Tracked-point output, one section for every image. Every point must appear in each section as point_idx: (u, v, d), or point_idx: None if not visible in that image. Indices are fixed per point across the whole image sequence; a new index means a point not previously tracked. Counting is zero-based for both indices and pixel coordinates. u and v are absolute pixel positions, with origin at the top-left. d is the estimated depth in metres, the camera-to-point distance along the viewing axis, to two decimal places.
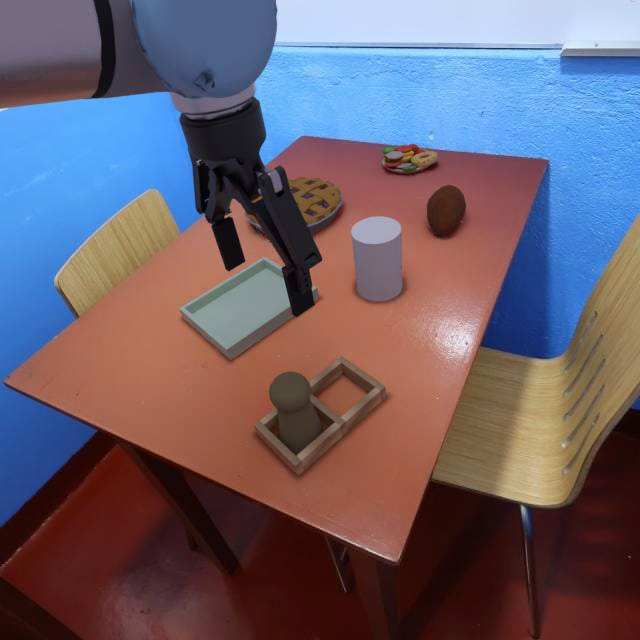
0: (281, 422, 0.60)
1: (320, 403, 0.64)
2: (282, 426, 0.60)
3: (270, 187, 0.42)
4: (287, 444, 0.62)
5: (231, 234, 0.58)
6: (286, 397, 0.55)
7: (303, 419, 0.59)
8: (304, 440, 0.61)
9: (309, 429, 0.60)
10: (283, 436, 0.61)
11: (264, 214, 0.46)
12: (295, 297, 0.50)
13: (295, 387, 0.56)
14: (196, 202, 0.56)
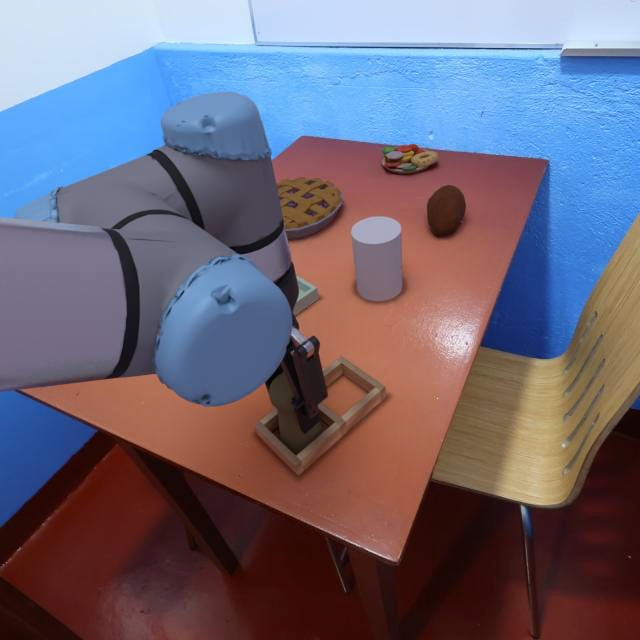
0: (281, 422, 0.60)
1: (320, 403, 0.64)
2: (282, 426, 0.60)
3: (304, 358, 0.46)
4: (287, 444, 0.62)
5: None
6: (286, 397, 0.55)
7: None
8: (304, 440, 0.61)
9: None
10: (283, 436, 0.61)
11: (288, 362, 0.50)
12: (303, 419, 0.57)
13: None
14: None
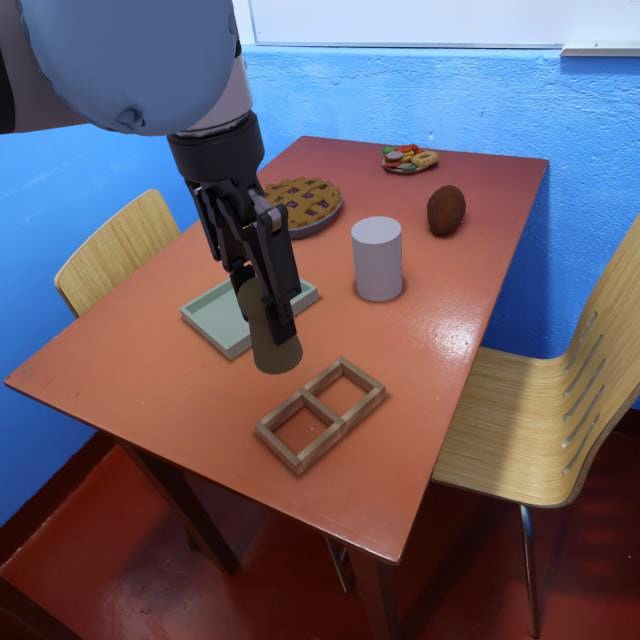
0: (252, 335, 0.52)
1: (320, 403, 0.64)
2: (254, 341, 0.53)
3: (269, 228, 0.38)
4: (260, 364, 0.54)
5: None
6: (256, 299, 0.48)
7: None
8: (279, 358, 0.53)
9: (284, 344, 0.53)
10: (256, 354, 0.54)
11: (254, 245, 0.43)
12: (276, 327, 0.49)
13: None
14: (211, 247, 0.50)
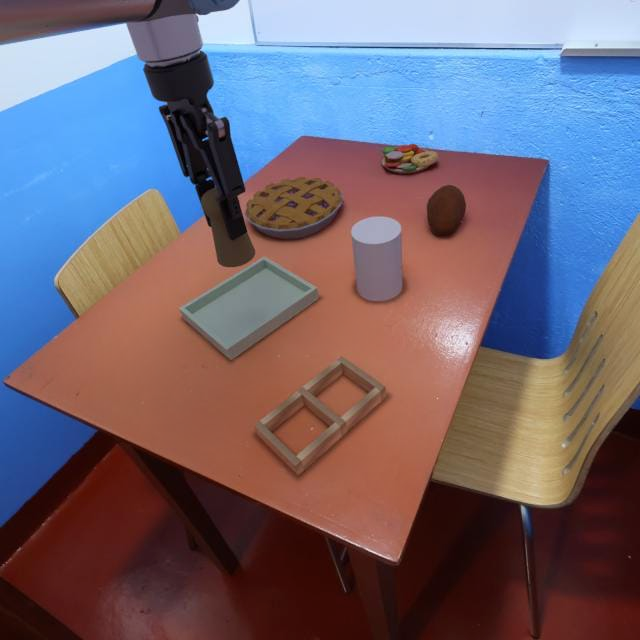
0: (214, 234, 0.69)
1: (320, 403, 0.64)
2: (215, 239, 0.69)
3: (216, 134, 0.55)
4: (221, 259, 0.71)
5: None
6: (214, 201, 0.65)
7: None
8: (235, 252, 0.70)
9: (238, 241, 0.69)
10: (217, 251, 0.71)
11: (209, 153, 0.59)
12: (230, 223, 0.66)
13: None
14: (181, 165, 0.67)
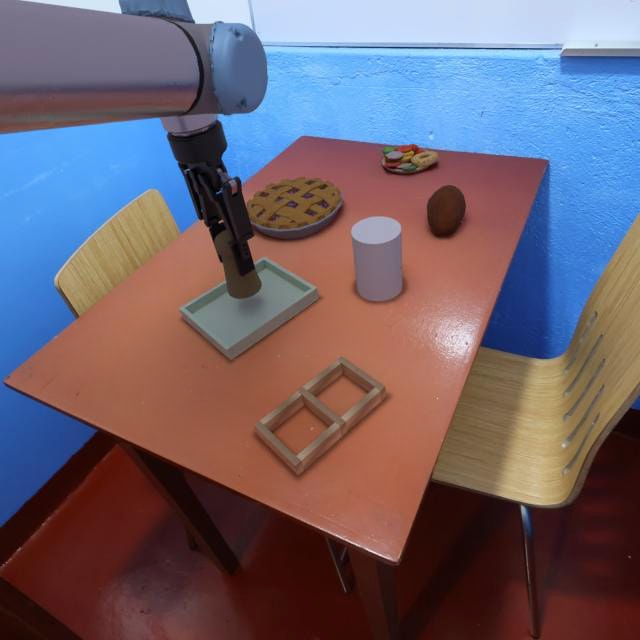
0: (225, 270, 0.77)
1: (320, 403, 0.64)
2: (226, 274, 0.78)
3: (229, 191, 0.64)
4: (231, 291, 0.79)
5: None
6: (226, 243, 0.73)
7: None
8: (244, 286, 0.78)
9: (247, 276, 0.78)
10: (228, 284, 0.79)
11: (222, 204, 0.68)
12: (240, 262, 0.74)
13: None
14: (196, 210, 0.75)
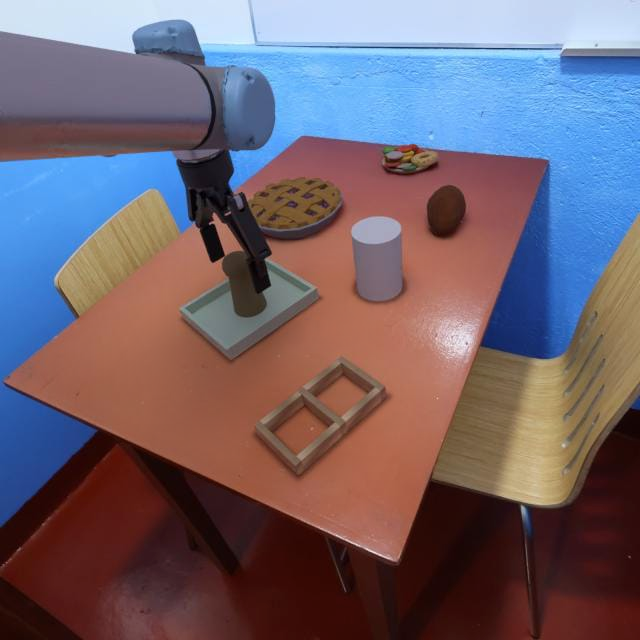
0: (232, 290, 0.80)
1: (320, 403, 0.64)
2: (233, 294, 0.81)
3: (235, 206, 0.65)
4: (238, 310, 0.82)
5: (214, 236, 0.81)
6: (233, 265, 0.76)
7: (247, 286, 0.79)
8: (250, 305, 0.81)
9: (253, 296, 0.81)
10: (234, 303, 0.82)
11: (233, 223, 0.68)
12: (256, 280, 0.73)
13: (240, 258, 0.77)
14: (189, 213, 0.79)
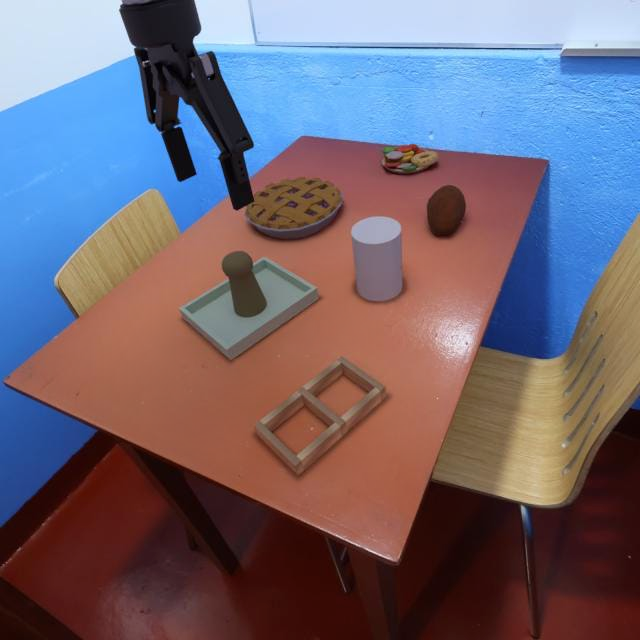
0: (232, 290, 0.80)
1: (320, 403, 0.64)
2: (233, 294, 0.81)
3: (201, 68, 0.46)
4: (238, 310, 0.82)
5: (181, 144, 0.62)
6: (233, 265, 0.76)
7: (247, 286, 0.79)
8: (250, 305, 0.81)
9: (253, 296, 0.81)
10: (234, 303, 0.82)
11: (200, 103, 0.50)
12: (234, 189, 0.55)
13: (240, 258, 0.77)
14: (147, 111, 0.60)
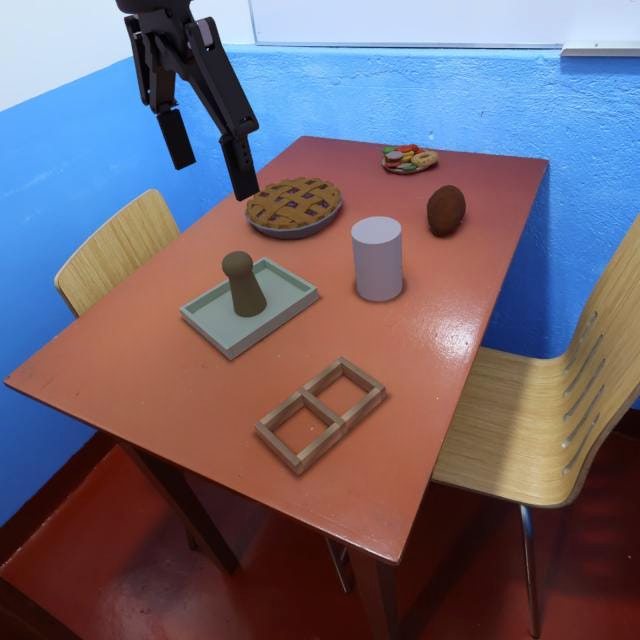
0: (232, 290, 0.80)
1: (320, 403, 0.64)
2: (233, 294, 0.81)
3: (198, 36, 0.40)
4: (238, 310, 0.82)
5: (178, 128, 0.56)
6: (233, 265, 0.76)
7: (247, 286, 0.79)
8: (250, 305, 0.81)
9: (253, 296, 0.81)
10: (234, 303, 0.82)
11: (198, 78, 0.44)
12: (236, 177, 0.48)
13: (240, 258, 0.77)
14: (140, 91, 0.54)
